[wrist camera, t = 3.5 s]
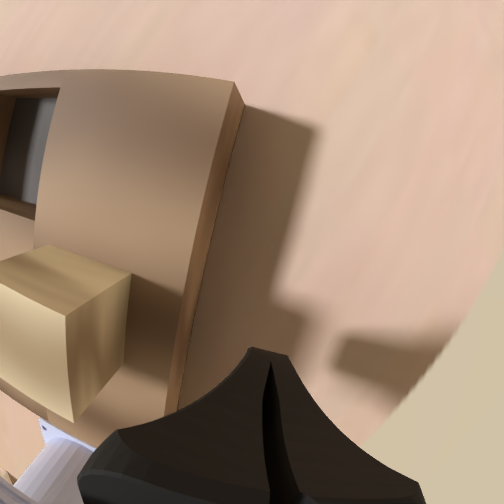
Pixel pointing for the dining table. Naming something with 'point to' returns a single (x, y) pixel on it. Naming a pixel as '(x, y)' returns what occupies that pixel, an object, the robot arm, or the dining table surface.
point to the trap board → (120, 209)
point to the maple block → (61, 327)
